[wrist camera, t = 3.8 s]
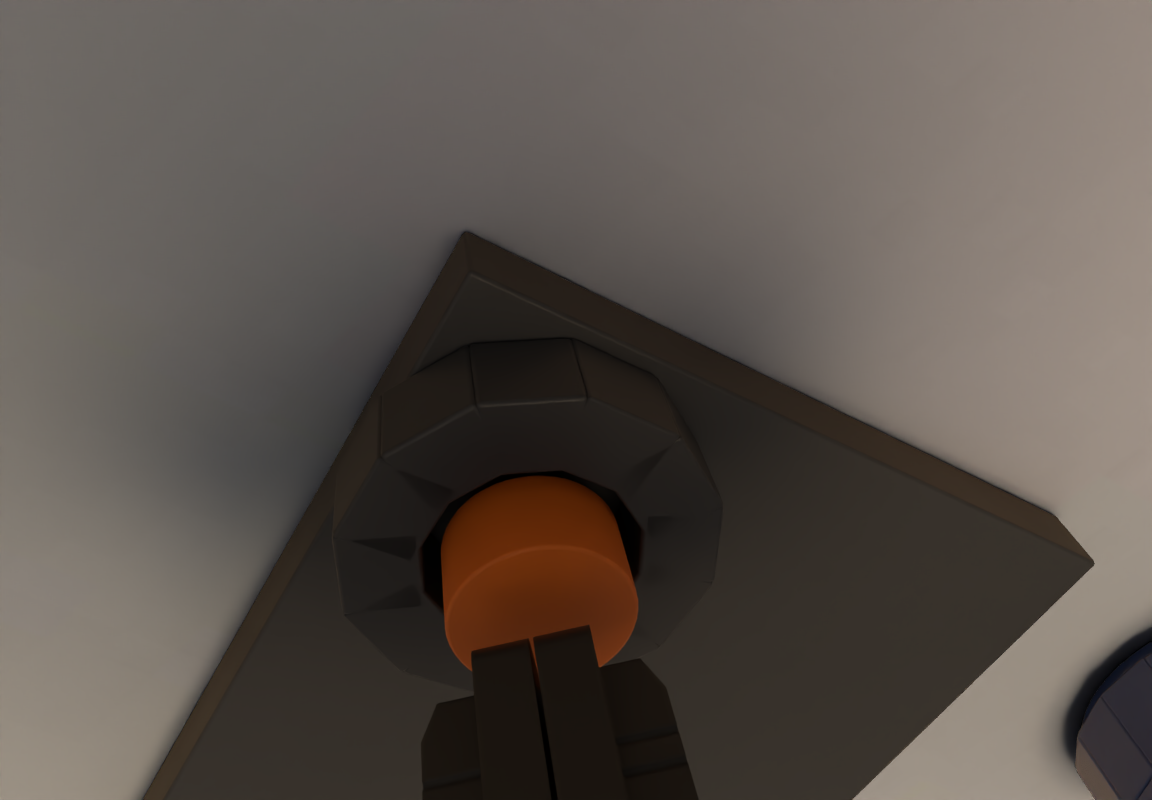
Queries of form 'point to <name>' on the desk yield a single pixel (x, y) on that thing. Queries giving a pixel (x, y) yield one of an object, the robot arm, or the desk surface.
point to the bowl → (1119, 733)
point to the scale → (654, 552)
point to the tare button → (535, 568)
